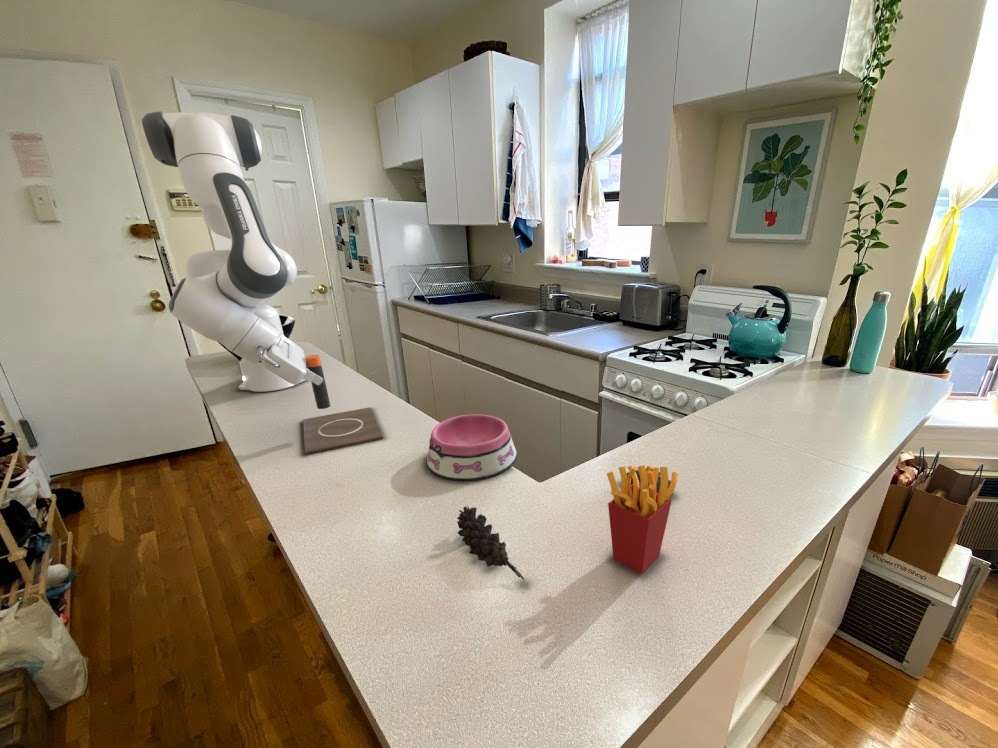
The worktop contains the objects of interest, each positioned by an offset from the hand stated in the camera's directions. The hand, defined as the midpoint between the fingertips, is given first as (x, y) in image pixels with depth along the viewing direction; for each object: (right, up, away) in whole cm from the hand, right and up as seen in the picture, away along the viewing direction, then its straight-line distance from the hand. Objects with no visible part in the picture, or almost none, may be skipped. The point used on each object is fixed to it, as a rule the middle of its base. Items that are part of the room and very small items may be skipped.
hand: (320, 379), depth 105 cm
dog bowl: (+36, -17, -8) cm, 41 cm away
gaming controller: (+70, -22, -21) cm, 76 cm away
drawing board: (+2, -12, +6) cm, 13 cm away
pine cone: (+44, -29, -35) cm, 63 cm away
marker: (0, -6, +2) cm, 7 cm away
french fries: (+65, -29, -36) cm, 80 cm away
